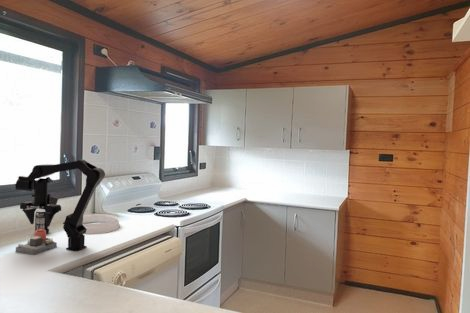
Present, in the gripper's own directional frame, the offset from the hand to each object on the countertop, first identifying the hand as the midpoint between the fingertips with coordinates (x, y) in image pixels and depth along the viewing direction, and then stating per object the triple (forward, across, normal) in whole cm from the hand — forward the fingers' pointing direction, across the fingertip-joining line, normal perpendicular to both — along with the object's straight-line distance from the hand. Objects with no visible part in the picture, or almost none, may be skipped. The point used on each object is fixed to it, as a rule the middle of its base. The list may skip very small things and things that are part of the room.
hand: (40, 225), depth 167 cm
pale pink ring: (+11, +2, -40) cm, 42 cm away
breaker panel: (+10, -1, +3) cm, 11 cm away
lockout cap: (+8, 0, 0) cm, 8 cm away
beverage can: (+10, +18, -19) cm, 28 cm away
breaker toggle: (+8, -4, +6) cm, 11 cm away
